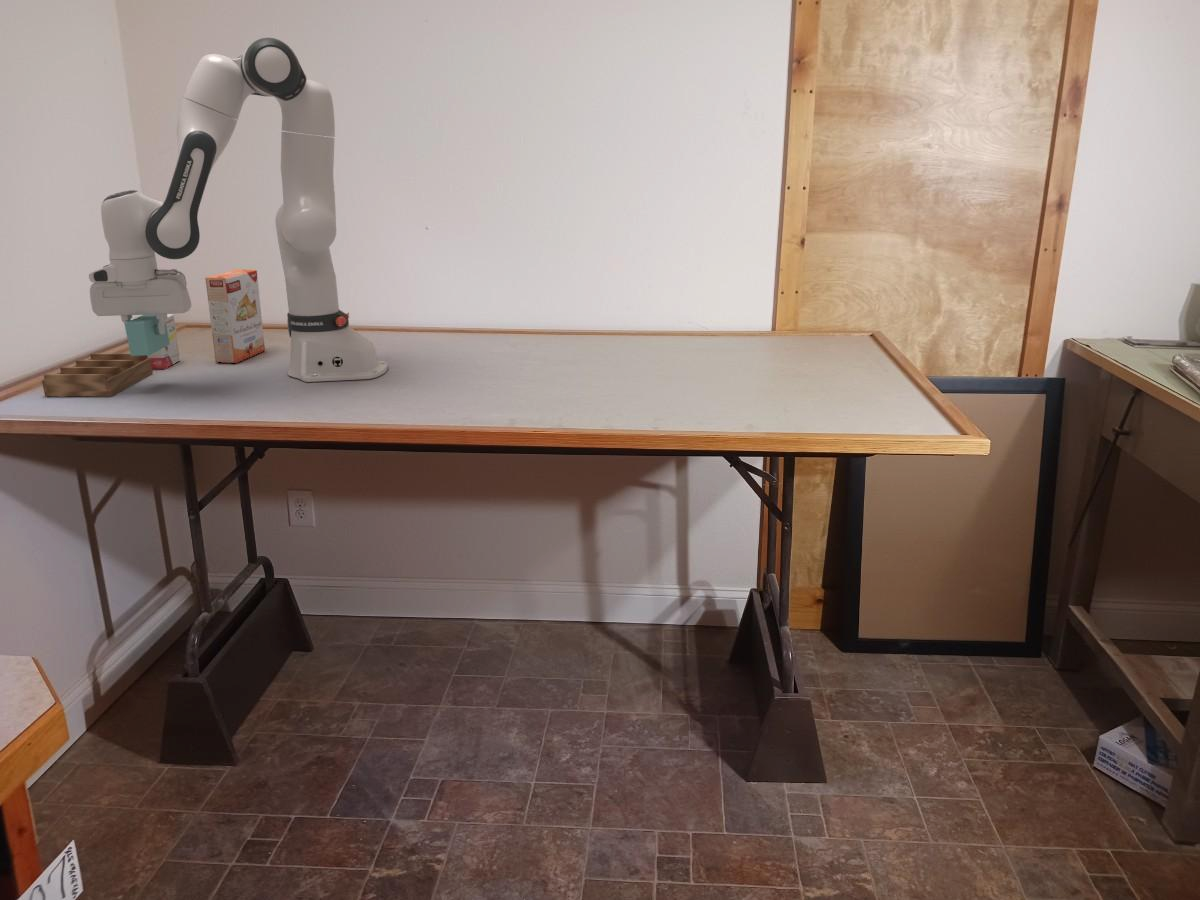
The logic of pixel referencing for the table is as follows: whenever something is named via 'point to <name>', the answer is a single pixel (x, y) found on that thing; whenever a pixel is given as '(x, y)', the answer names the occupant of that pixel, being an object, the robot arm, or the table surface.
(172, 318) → the ink box
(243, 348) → the cracker box
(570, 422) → the table surface
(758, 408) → the table surface
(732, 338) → the table surface
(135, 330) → the teal block
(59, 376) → the rack
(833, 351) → the table surface
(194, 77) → the robot arm
